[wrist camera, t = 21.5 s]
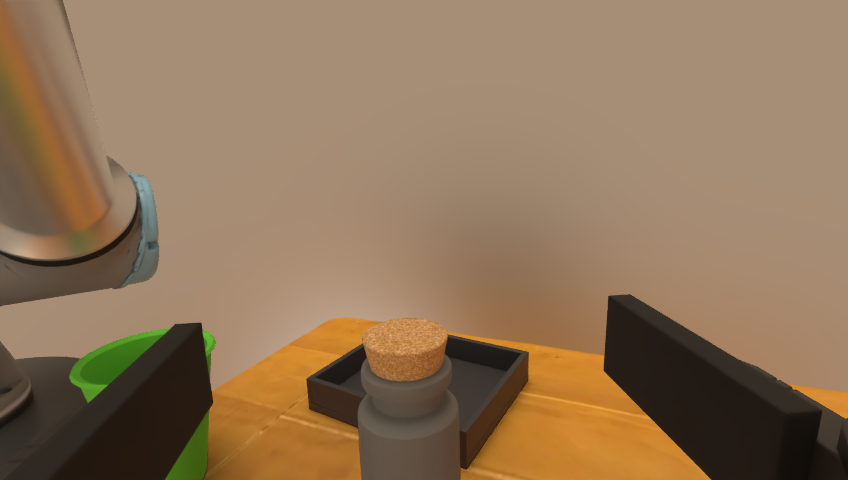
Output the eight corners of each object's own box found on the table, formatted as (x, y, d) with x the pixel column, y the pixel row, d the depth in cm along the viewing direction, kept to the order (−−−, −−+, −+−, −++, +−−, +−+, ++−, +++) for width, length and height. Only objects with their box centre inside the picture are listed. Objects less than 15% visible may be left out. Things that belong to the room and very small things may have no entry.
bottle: (471, 595, 25) (468, 352, 22) (367, 612, 24) (349, 363, 21) (451, 512, 31) (447, 310, 28) (367, 524, 30) (352, 317, 27)
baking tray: (309, 408, 44) (306, 378, 43) (396, 347, 56) (395, 322, 56) (466, 469, 35) (466, 432, 34) (528, 380, 48) (528, 351, 47)
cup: (248, 486, 34) (230, 354, 32) (104, 556, 28) (68, 403, 26) (217, 430, 41) (200, 318, 38) (96, 478, 35) (67, 351, 33)
